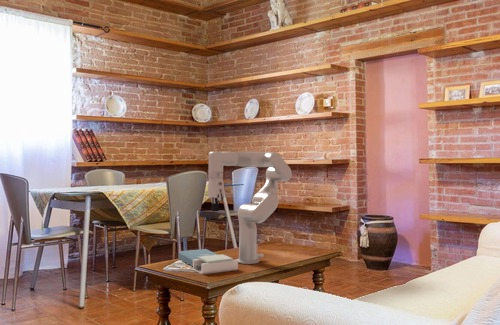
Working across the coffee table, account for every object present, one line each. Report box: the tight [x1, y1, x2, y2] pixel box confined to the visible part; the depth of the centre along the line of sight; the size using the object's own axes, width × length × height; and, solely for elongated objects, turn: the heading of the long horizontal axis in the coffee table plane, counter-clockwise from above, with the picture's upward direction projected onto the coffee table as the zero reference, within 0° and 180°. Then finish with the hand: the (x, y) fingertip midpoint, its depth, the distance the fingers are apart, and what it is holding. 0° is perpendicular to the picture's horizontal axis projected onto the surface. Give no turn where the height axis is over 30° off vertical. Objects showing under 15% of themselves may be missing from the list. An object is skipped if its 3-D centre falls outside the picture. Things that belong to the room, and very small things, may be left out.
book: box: [178, 248, 219, 267], centre depth 258 cm, size 23×16×5 cm
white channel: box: [192, 255, 239, 275], centre depth 241 cm, size 20×11×5 cm, turn 122°
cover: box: [199, 253, 234, 263], centre depth 241 cm, size 14×11×1 cm
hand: (215, 211), depth 246 cm, fingers closed
